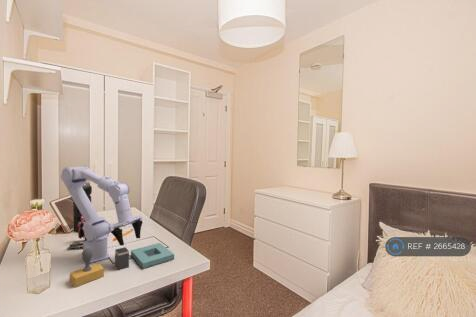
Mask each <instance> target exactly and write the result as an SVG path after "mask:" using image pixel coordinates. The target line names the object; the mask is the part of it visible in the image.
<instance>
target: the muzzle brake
mask: <svg viewBox="0 0 476 317" xmlns="http://www.w3.org/2000/svg"><path fill="white" fill-rule="evenodd" d="M82 188H83V190H84V192H85V193H86V195H87V197H88V198H89V200H90V202H91V203H92V196H91V194H92V192H93V190H92V185H91V183H90V182H86V183H85V185H83V187H82ZM72 200H73V199H72ZM72 208H73V210H72V211H73V215H72V216H73V233H77V234H78V231H79V227H78V223H79V222H81V221H82V220H81V217H82V214H81V213H80V211H79V209H78V207H77V206H76V204H75V202H74V200H73V202H72ZM84 221H85V220H84Z"/></svg>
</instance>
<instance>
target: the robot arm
mask: <svg viewBox="0 0 476 317" xmlns="http://www.w3.org/2000/svg"><path fill="white" fill-rule="evenodd" d="M60 179H61V180H62V181H63V184H64V185H65V187H66V189H67V191H68V193H69V195H70V196H71V198H72V200H74V202H75V204H76V206H77V207H78V209H79V211H80V213H81V214H82V216H83V218H84V220H85V224H84V226H83V228H82V229H83V230H84V235H85V237H86V239H87V241H84V242H83V246H82V247H83V248H82V251H83V250H85V249H87V248H89V249H91V250H92V257H91V260H90V263H89V264H92V263H96V262H99V261H102V260H107V259H110V258H111V255H109V253H108V237H109V234H112V235H113V236H114V237H115V238H116V240H117V242H118V244H119V246H124V245H125V242H124V238H123V229H122V228H123V227H126V226H128V225H131V227H132V228H133V231H134V234H135V238H136V239H140V238H141V232H142V231H141V230H142V225H143V219H144V218H143V215H138V216H135V217H133V212H132V209H131V205H130V200H129V193H130V186H129V185H128V184H127V183H126V182H119V181H117V180H115V179H112V178H111V177H110V176H109V175H108V176H107V175H105V176H101V175H100V174H98V173H96V172H95V171H93V170H91V168H90V167H88V166H86V165H81V166H80V165H79V166H70V167H69V166H66V167H64V168H63V169H62V170H61V175H60ZM87 181H90V182H92V183H94V184H97V185H96V186H97V188H99V189H101V190H102V191H104V192H106V193H107V194H108V196H109V197H110V198H111V199H112V202H113V203H114V204H113V205H114V207H115V212H116V218H117V221H118V222H117V223H114V224H112V225H111V223H110V222H109V221H108V220H106V218H105V217H104V216H100V215H99V214H98V212H97V211H96V209H95V206H93V204H92V201H91V202H90V200H89V198H88V197H87V195H86V193H85V192H84V190H83V188H82V187H83V185H85V183H87ZM85 237H84V238H85Z"/></svg>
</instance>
